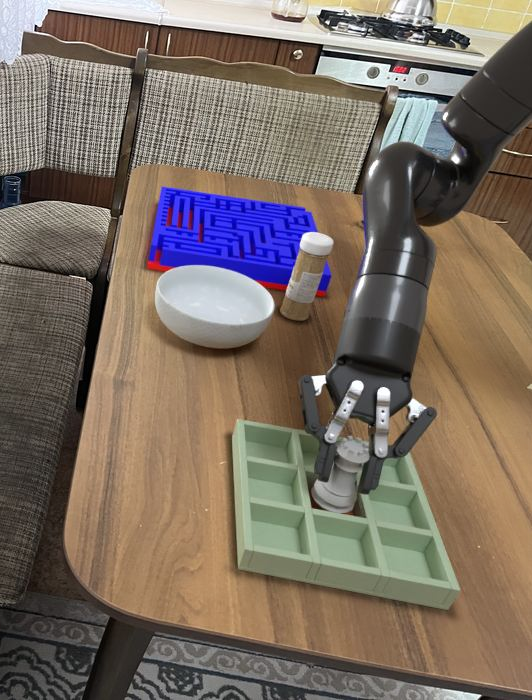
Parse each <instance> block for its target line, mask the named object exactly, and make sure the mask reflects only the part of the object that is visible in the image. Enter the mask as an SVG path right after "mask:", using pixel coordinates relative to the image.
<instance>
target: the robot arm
mask: <svg viewBox="0 0 532 700" xmlns="http://www.w3.org/2000/svg"><path fill="white" fill-rule="evenodd" d="M530 123H532V20H531V21H529V22H528V23H527V24H526V25H524V26H523V27H522V28H521V29H520V30H518V32H516V33H515V34H514V35H513V36H512V37H511V38H510V39H508V40H507V41H506V42H504V44H503V45H502V46H501V47H500V48H499V49H498V50H497V51H496V52H495V53H494V54H493V55H492V56H490V58H489V59H488V60H487V61H486V62H485V63H484V64H483V65H482V66H481V68H479V69H478V70H477V72H476V73H474V75H473V76H472V77H471V78H470V79H469V80H468V81H467V82H466V83H465V84H464V85H463V87H462V88H461V89H460V90H459V91H458V92H457V93H456V94H455V95H454V96H453V97H452V99H450V101H449V102H448V103H447V104H446V105H445V107H444V108H443V110H442V111H441V114H440V124H441V126H442V127H443V129H444V131H445V132H446V133H447V134H448V136H449V137H451V138H452V140H454V141H455V143H454V146H453V148H452V150H451V152H450V153H449V154H448V156H446V158H443V157H441V156H440V155H437V154H436V153H434V152H431V151H430V150H428V149H426V148H424V147H423V146H420V145H419V144H416V143H414V142H411V141H402V140H401V141H397V142H393V143H391V144H389V145H387V146H386V147H384V148H382V150H380V151H379V152H378V153H377V154H376V155H375V157H374V158H373V159H372V161H371V163H370V164H369V166H368V168H367V170H366V173H365V176H364V179H363V184H362V185H363V188H362V216H363V217H362V218H363V219H362V220H363V221H364V228H363V238H364V250H363V253H362V256H361V261H360V265H359V269H358V273H357V277H356V280H355V284H354V287H353V290H352V292H351V294H350V296H349V300H348V303H347V306H346V309H345V311H344V314H343V321H342V326H341V330H340V334H339V338H338V342H337V345H336V350H335V354H334V357H333V362H332V364H331V367H330V368H329V369H328V370H327V371H326V373H324V375H311V374H306V373H305V374H303V375H302V376H301V377H300V378H299V380H298V381H297V383H296V384H297V391H298V397H299V403H300V408H301V416H302V422H303V430H304V431H305V432H306V433H308V434H311V435H312V436H313V437H315V438H316V439H317V440H318V441H319V449H318V453H317V457H316V461H315V465H314V473H315V474H318V475H319V477H318V481H321V482H324V483H327V482H328V481H329V477H330V473H331V469H332V465H333V461H334V457H335V453H336V449H337V446H335V442H336V441H337V439H338V437H340V435H341V433H342V430H344V429H343V428H344V426H345V425H346V424H347V422H348V421H349V419H350V420H351V419H352V420H353V419H354V420H357V419H358V420H359V421H361V422H363V423H364V424H367V435H368V442H369V456H370V458H369V460H368V461H367V462H364V465H363V469H362V473H361V477H360V481H359V486H358V491H357V492H358V493H361V494H364V495H368V494H369V492H370V490H375V489H376V488H377V487H378V484H379V480H380V476H381V471H382V467H383V463H384V461H385V459H387V458H399V457H404V456H406V455H407V454H408V453H409V452H410V451H411V450H412V449H413V447H414V446H415V445H416V443H417V442H418V441H419V440H420V439H421V437H422V436H423V435H424V433H425V432H426V431H427V430H428V428H429V427H430V425H431V424H432V423H433V421H434V420H435V419H436V418H437V415H438V411H437V410H436V408H434V407H432V406H428V407H426V406H425V405H424V404H422V403H421V402H419V401H418V400H417V399H415V398H413V397H414V396H413V395H414V393H413V390H412V387H411V386H412V385H411V381H412V376H413V372H414V368H415V363H416V359H417V356H418V351H419V346H420V342H421V337H422V334H423V333H422V332H423V329H424V325H425V321H426V316H427V310H428V309H427V307H428V296H429V290H430V286H431V281H432V278H433V274H434V269H435V265H436V260H437V253H438V251H437V250H438V249H437V245H436V243H435V241H434V239H432V237H430V235H429V234H427V232H425V231H424V230H423V228H422V227H424V228H425V227H426V228H432V227H437V226H440V225H443V224H444V223H447V222H450V221H451V220H452V219H453V218H456V216H457V215H459V214H460V213H461V212H462V211H463V209H465V207H466V206H467V205H468V203H469V202H470V201H471V199H472V197H473V196H474V194H475V193H476V192H477V190H478V188H479V186H481V184H482V182H483V180H484V179H485V177H486V176H487V174H488V173H489V172H490V170H491V169H492V167H493V166H494V164H495V163H496V161H497V160H498V159H499V156H500V155H501V154H502V152H503V151H504V149H505V148H506V147H507V145H508V144H509V143H510V142H511V141H512V140H514V139H515V138H516V137H517V135H519V134H520V133H521V132H522V131H523V130H524V129H525V128H526V127H528V126H529V124H530ZM323 386H324V387H325V389H326V390H327V393H328V395H329V397H330V400H331V402H332V404H333V406H334V407H333V410H332V413H331V415H330V416H329V418H328V420H327V424H326V425H325V426H324V425H323V424H321V419H320V414H319V408H318V402H317V401H318V400H317V397H318V396H320V395H321V393H322V389H323ZM403 408H405V409H406V410H407V411H406V412H407V413H406V415H405V421H406V422H407V423H408V424H407V425H406V426H405V428H404V429H403V430H402V432H401V433H400V434H399V436H398V437H397V438H396V440H395V441H394V442H393V443H392V444H389V434H390V419H391V418H392V417H393V416H394V415H396V414H397V413H398V412H400V411H401V410H403Z"/></svg>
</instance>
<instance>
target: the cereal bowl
mask: <svg viewBox="0 0 532 700" xmlns="http://www.w3.org/2000/svg"><path fill="white" fill-rule="evenodd" d="M154 294H155V295H154V304H155V305H154V306H155V308H156V309H155V310H156V312H157V315H158V317H159V319H160V320H161V322H162V323H163V325H165V327H166V328H167V329H168V330H169V331H170V332H172V334H174V335H176V336H177V337H179V338H181V339H183V340H184V341H187V342H189V343H191V344H195V345H198V346H202V347H206V348H212V349H232V348H233V349H234V348H238V347H242V346H245V345H247V344H250V343H252V342H254V341H255V340H257V339H258V338H259V337H260V336H262V334H263V333H264V332H265V331H266V329H267V328H268V327H269V324H270V322H271V320H272V318H273V315H274V313H275V308H276V306H275V300H274V297H273V296H272V294H271V293H270V292H269V290H268V289H267V288H266V287H263V286H262V285H260V284H259V283H257V282H256V281H254V280H252V279H251V278H249V277H247V276H245V275H242V274H240V273H237V272H234V271H231V270H227V269H224V268H219V267H213V266H204V265H189V266H181V267H177V268H174V269H171V270H169V271H164V273H162V274H161V275H160V276H159V278H158V280H157V282H156V286H155V292H154Z"/></svg>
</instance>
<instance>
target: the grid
mask: <svg viewBox="0 0 532 700" xmlns="http://www.w3.org/2000/svg"><path fill="white" fill-rule="evenodd" d="M344 438H346V439H347V437H343V436H339V437H338V439H337V441H336V442H335V446H336V445H337V444H338V442H341V441H343V439H344ZM352 440H356V439H354V438H353V439H352ZM365 442H366V443H367V444H368V449H369V441H366V440H362V441H361V443H362V444H363V443H365ZM231 448H232V451H231V452H232V469H233V470H232V471H233V491H234V493H233V494H234V512H235V513H234V514H235V532H236V533H235V534H236V554H237V555H236V557H237V570H238V571H239V570H240V571H244V572H250V573H255V574H261V575H265V576H271V577H276V578H280V579H285V580H291V581H296V582H302V583H307V584H311V585H316V586H321V587H327V588H332V589H338V590H343V591H348V592H351V593H357V594H363V595H368V596H373V597H379V598H383V599H387V600H388V599H389V600H393V601H399V602H404V603H409V604H415V605H419V606H425V607H429V608H433V609H434V608H435V609H440V610H445V611H448V610H449V609H450V608H451V606H452V605H453V603H454V602H455V600H456V598H457V597H458V596H459V594H460V593H461V587H460V584H459V582H458V580H457V576H456V574H455V571H454V568H453V566H452V563H451V561H450V560H451V559H450V558H449V555H448V552H447V550H446V547H445V543H444V542H443V538H442V536H441V533H440V530H439V528H438V525H437V521H436V520H435V517H434V514H433V511H432V509H431V506H430V503H429V501H428V498H427V495H426V492H425V489H424V487H423V484H422V482H421V479H420V475H419V473H418V471H417V467H416V465H415V463H414V460H413V457H412V454H411V452H410V451H409V453H408V454H407V455H406V456H404V457H399V458H387V459H385V461H384V463H383V467H382V471H381V476H380V480H379V484H378V487H377V488H376V489H375V490H370V492H369V494H368V495H364V494H361V493H358V492H357V491H358V486H359V481H360V477H361V473H362V469H363V465H364V463H362V469H361V471H359V472H358V473H357V476H356V480H355V488H356V494H357V499H356V501H355V503H354V507H353V509H352V510H351V511H349V512H347V513H343V514H340V513H335V512H329V511H326V510H324V509H322V508H321V507H320V506H318V505H317V504H316V502H315V500H314V499H313V497H312V491H311V489H312V487H313V486H314V484H315V482H316V480H317V479H318V477H319V475H318V474H315V473H314V465H315V461H316V457H317V453H318V449H319V441H318V440H317V439H316V438H315V437H313V436H312V435H311V434H308V433H306V432H305V429H297V428H291V427H287V426H281V425H275V424H269V423H263V422H257V421H252V420H245V419H242V418H241V419H240V418H237V419H236V423H235V426H234V429H233V432H232V436H231ZM368 452H369V450H368ZM336 454H338V452H337V449H336V453H335V455H336ZM333 464H334V461H333ZM332 466H333V465H332Z"/></svg>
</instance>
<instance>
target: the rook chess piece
mask: <svg viewBox="0 0 532 700" xmlns="http://www.w3.org/2000/svg"><path fill="white" fill-rule="evenodd" d="M346 438H347V439H346ZM352 439H354V437H353V435H347V436H346V437H344V439H343V441H341V442H338V444H337V445H336V446H337V452H338V454H336V455H335V457H334V464H333V466H332V469H331V473H330V477H329V481H328V482H327V483H324V482H321V481H318V479H317V480H316V482H315V484H314V486H313V487H312V489H311V491H312V497H313V499H314V500H315V502H316V504H317V505H318V506H320V507H321V508H322V509H324V510H326V511H329V512H335V513H340V514H343V513H347V512H349V511H351V510H352V509H353V507H354V503H355V501H356V499H357V494H356V488H355V480H356V476H357V473H358V472H359V471H361V469H362V463H364V462H367V461H368V460H369V458H370V456H369V452H368V450H369V449H368V444H367V443H366V442H365V443H363V444H362V443H361V441H363V439H362V438H360V437H356V439H355V440H352Z"/></svg>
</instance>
